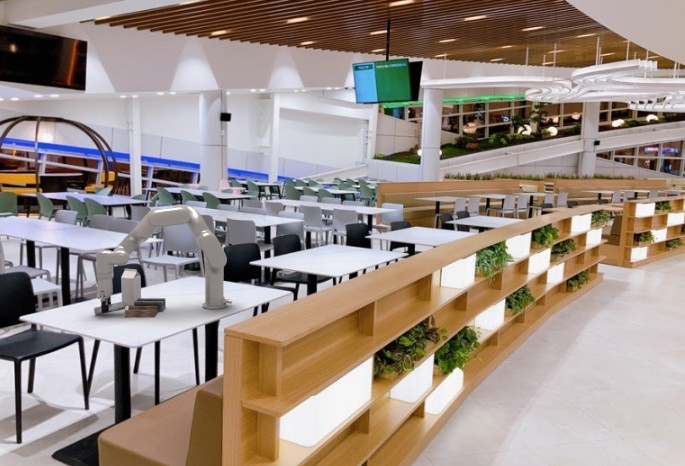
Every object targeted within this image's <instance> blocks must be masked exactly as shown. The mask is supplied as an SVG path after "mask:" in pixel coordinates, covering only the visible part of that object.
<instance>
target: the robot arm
mask: <svg viewBox="0 0 685 466" xmlns="http://www.w3.org/2000/svg"><path fill="white" fill-rule="evenodd" d="M184 224H186V225H187V226H188V228H189V230H190V232H191V233H192V235H193V237H194V239H195V242H196V245H197V246H198V247H199V248H200V249H201V251H202V253H203V256H204V257H203V259H204V260H203V262H204V276H205V277H204V284H205V285H204V290H205V291H204V293H205V294H204V295H205V296H204V297H205V299H204V300H205V301H204V302H203V303H202V308H203V309H207V310H220V309H223V308H226V307H227V304H232V303H233V300H232V299H230V298H227V299H226V297H225V296H224V293H225V292H224V277H225V275H224V267H225V266H226V265H227V261H228V259H227V258H228V257H227V255H226V253H225V251H224V249H223V247H222V245H221V243H220V241H219V239H218V238H217V236H216V235H215V234H214V233H213V232H212V231H211V230H210V227H208V225H207V222H206V221H205V219H204V217H203V216H202V214H201V213H200V212H199V211H198V210H197V209H196V208H194V207H193V206H191V205H189V204H188V205H187V204H176V205H174V206H172V208H165V209H160V208H157V207H155V208H152V209H150V210H149V211H148V212H147V213H146V214H145V216H144V217H143V218H142V219H141V220H140V221H139V222H138V224H137V225H136V226H135V227H134V228H133V229H132V230H131V231H130V232H129V233H128V234H127V235H126V236H125V237H124V238H123V240H122V241H120V243H118V245H117V246H116V247H115V248H114V250H110V249H100V250H97V251H96V253H95V260H96V262H95V264H96V279H97V286H96V287H97V288H96V289H97V291H96V296H97V299H98V300H99V301H100V306H101V312H102V313H106V314H109V313H108V305H109V304H112V302H111V301H112V296H113V294H114V293H113V292H114V290H113V289H114V288H113V279H114V266H115V265H116V266H124V265H127V264H128V263H129V261H130V255H131V254H132V253H133V252H134V250H136V249H137V248H138V246H140V245H141V244H143V243H145V242H147V241H148V240H149V239H150V238H151V237H152V235H153V234H154V233H155V232H156V231H157V230H158V228H163V227H164V228H166V227H172V226H179V225H180V226H181V225H184Z"/></svg>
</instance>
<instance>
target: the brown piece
mask: <svg viewBox="0 0 685 466" xmlns="http://www.w3.org/2000/svg"><path fill="white" fill-rule="evenodd" d="M127 307H128V308H127V309H124V318H155V317H156V316H157V315H158V313H159V312H158V306H129V305H128V306H127Z"/></svg>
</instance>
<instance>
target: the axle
mask: <svg viewBox="0 0 685 466" xmlns="http://www.w3.org/2000/svg"><path fill="white" fill-rule="evenodd" d="M126 306H127V305H125V302H124V301H122V300H121V301H119V302H115V303H111V304H109V305H108V313H102V312H101V305H100V306H95V307H93V308H94V309H93V311H94V312H93V313H94V315H95V316H101V315H105V314H109V313H113V312H117V311H118V312H119V311H123V310H126V308H127V307H126Z"/></svg>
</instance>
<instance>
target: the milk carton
mask: <svg viewBox="0 0 685 466" xmlns="http://www.w3.org/2000/svg"><path fill="white" fill-rule="evenodd" d="M120 280H121V283H120V285H121V286H120V287H121V302H122V301H124V302H125V306H128V307H129V306H134V302H135V301H137V299H138V298H142V287H141V286H142V285H141V284H142V283H141V282H142V281H141V280H142V279H141V274H140V272H138V269H134V268H133V269H132V268H124V271H123V273H122V275H121V277H120Z"/></svg>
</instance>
